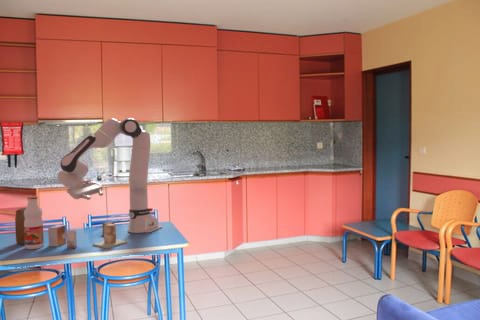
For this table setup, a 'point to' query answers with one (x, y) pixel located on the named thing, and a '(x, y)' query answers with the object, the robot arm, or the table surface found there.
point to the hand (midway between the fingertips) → (95, 196)
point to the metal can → (71, 239)
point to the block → (20, 226)
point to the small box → (57, 235)
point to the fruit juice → (33, 224)
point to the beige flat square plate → (106, 245)
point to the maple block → (110, 233)
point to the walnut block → (106, 224)
